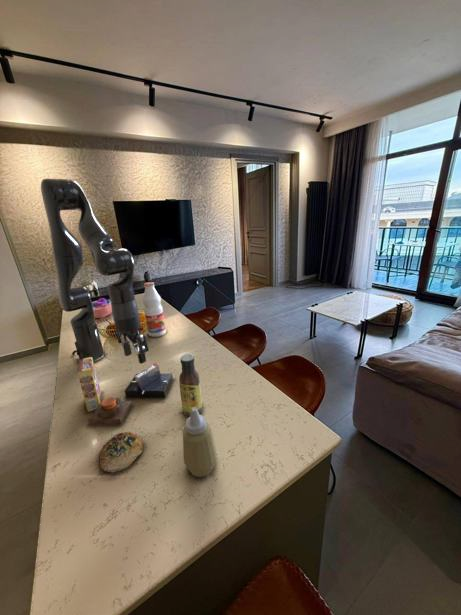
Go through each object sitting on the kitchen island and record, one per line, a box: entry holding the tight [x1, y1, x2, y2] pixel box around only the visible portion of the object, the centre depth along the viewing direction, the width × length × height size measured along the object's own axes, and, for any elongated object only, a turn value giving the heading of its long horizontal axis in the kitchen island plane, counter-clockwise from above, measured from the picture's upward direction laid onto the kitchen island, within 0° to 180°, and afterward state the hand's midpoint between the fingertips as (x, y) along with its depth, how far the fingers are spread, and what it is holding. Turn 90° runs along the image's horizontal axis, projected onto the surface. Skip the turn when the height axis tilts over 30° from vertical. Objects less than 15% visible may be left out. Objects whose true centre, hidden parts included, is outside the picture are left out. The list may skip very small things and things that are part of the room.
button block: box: [88, 397, 133, 426], centre depth 81 cm, size 10×8×4 cm
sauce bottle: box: [178, 353, 203, 417], centre depth 78 cm, size 6×6×20 cm
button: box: [101, 396, 117, 410], centre depth 80 cm, size 4×4×2 cm
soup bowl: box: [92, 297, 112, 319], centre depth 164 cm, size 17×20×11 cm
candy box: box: [76, 357, 102, 412], centre depth 85 cm, size 9×4×15 cm, turn 26°
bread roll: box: [98, 431, 144, 474], centre depth 67 cm, size 11×11×5 cm
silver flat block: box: [134, 362, 161, 389], centre depth 91 cm, size 9×2×5 cm, turn 146°
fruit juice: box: [142, 281, 167, 338], centre depth 132 cm, size 9×9×28 cm
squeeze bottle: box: [182, 407, 217, 478], centre depth 60 cm, size 8×8×18 cm
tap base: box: [124, 373, 174, 399], centre depth 93 cm, size 14×13×3 cm
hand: (135, 358), depth 86 cm, fingers open, 8 cm apart
